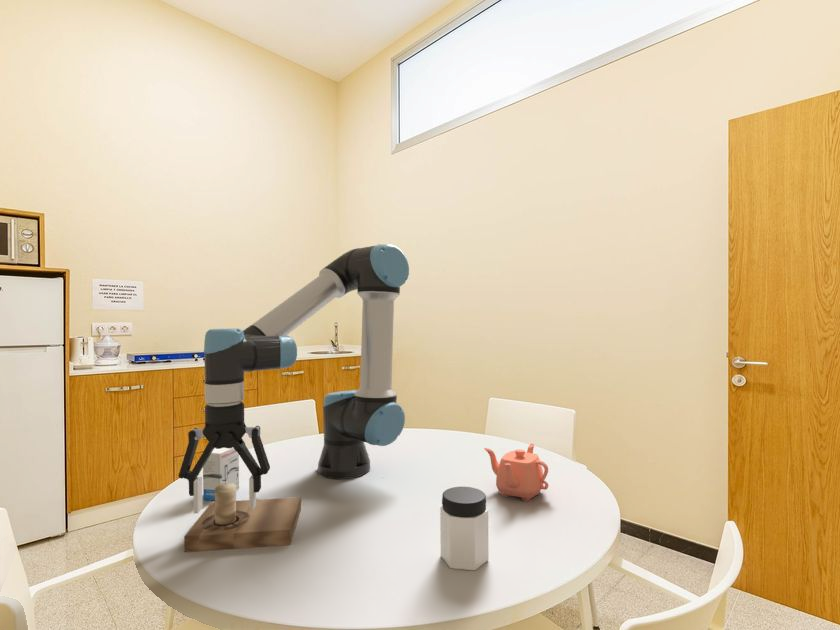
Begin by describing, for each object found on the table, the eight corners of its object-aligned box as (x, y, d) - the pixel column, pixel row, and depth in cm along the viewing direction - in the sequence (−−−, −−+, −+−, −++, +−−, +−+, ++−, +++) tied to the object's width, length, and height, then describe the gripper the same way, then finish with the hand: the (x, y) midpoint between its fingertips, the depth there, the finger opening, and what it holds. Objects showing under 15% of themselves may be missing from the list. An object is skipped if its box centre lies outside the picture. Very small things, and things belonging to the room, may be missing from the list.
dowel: (238, 529, 97) (238, 482, 97) (233, 539, 93) (233, 490, 93) (218, 530, 96) (218, 483, 96) (212, 540, 92) (212, 491, 92)
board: (301, 509, 106) (301, 497, 106) (290, 544, 90) (290, 529, 90) (211, 515, 104) (211, 502, 104) (184, 551, 88) (184, 536, 88)
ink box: (219, 501, 111) (219, 453, 111) (202, 499, 112) (201, 452, 112) (240, 488, 120) (239, 443, 120) (223, 486, 121) (223, 442, 121)
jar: (460, 541, 91) (459, 482, 91) (495, 555, 86) (495, 492, 86) (432, 560, 84) (431, 496, 84) (468, 577, 79) (468, 508, 79)
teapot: (506, 508, 106) (505, 461, 106) (483, 485, 120) (483, 444, 120) (561, 501, 110) (561, 456, 110) (533, 480, 124) (533, 440, 124)
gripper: (284, 397, 100) (284, 498, 100) (174, 400, 97) (175, 504, 97) (277, 404, 92) (278, 513, 92) (158, 408, 89) (159, 520, 89)
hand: (225, 508), depth 94 cm, fingers open, 10 cm apart
